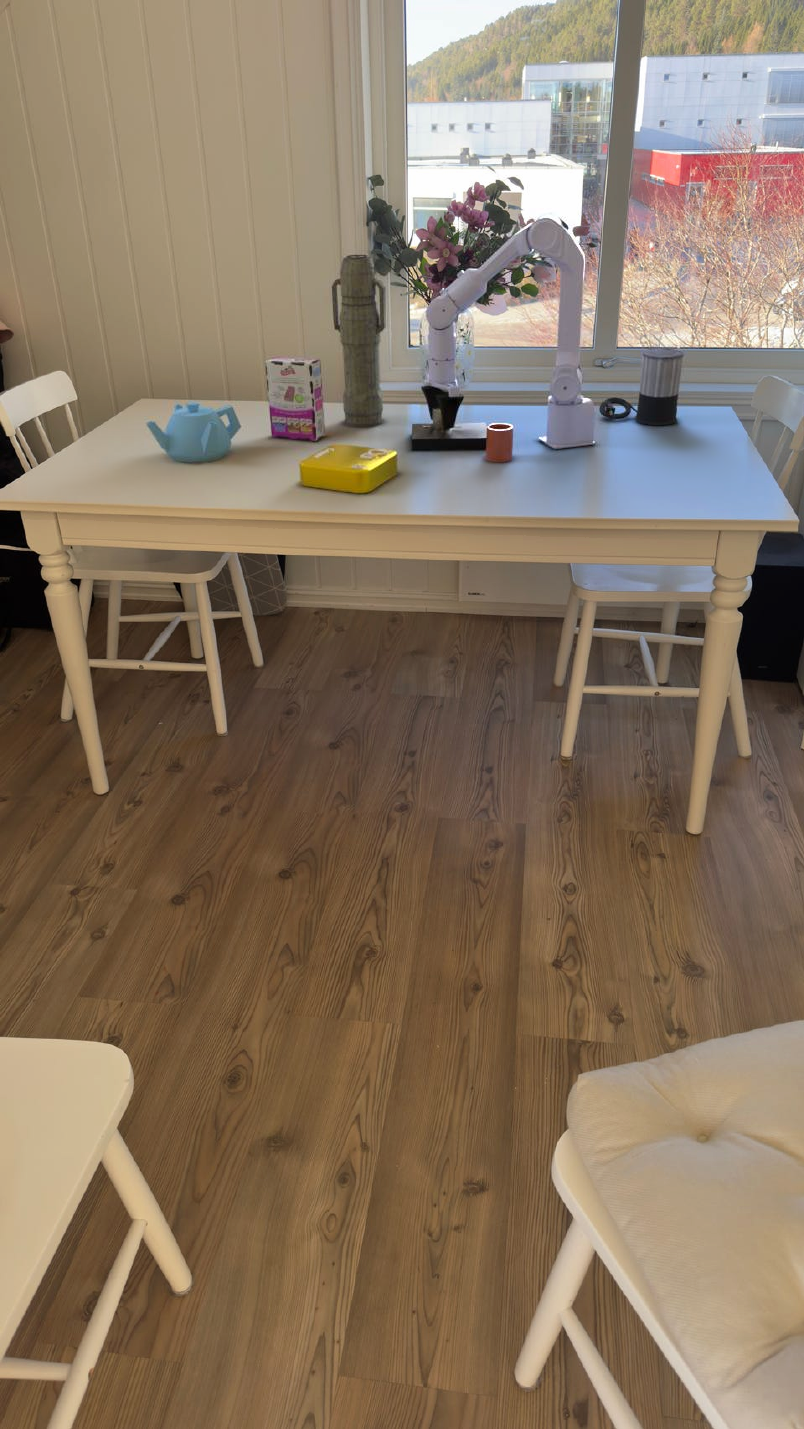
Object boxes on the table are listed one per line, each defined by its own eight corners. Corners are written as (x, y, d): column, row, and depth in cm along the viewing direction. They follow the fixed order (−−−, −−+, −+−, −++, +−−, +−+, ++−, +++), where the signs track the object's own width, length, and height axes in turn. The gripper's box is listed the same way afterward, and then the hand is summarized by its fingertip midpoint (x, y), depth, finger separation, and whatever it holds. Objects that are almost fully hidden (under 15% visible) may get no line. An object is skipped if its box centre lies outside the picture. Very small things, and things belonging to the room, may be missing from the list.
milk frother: (684, 424, 228) (692, 355, 220) (618, 430, 225) (624, 360, 217) (656, 409, 240) (663, 342, 232) (593, 414, 237) (598, 347, 229)
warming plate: (485, 432, 225) (485, 420, 224) (488, 449, 214) (488, 437, 212) (412, 433, 226) (412, 421, 224) (411, 451, 214) (411, 438, 213)
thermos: (385, 427, 230) (380, 258, 212) (334, 426, 232) (325, 258, 214) (393, 417, 238) (388, 253, 220) (343, 416, 239) (335, 253, 222)
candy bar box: (326, 436, 225) (321, 358, 217) (316, 442, 221) (311, 363, 213) (281, 431, 229) (275, 355, 221) (270, 437, 225) (263, 360, 217)
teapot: (218, 467, 207) (212, 414, 201) (149, 464, 210) (142, 410, 205) (245, 446, 220) (240, 395, 214) (180, 443, 223) (174, 392, 217)
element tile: (334, 464, 207) (333, 440, 205) (401, 472, 202) (400, 448, 199) (296, 485, 196) (294, 461, 193) (366, 495, 190) (365, 470, 188)
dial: (432, 424, 222) (432, 404, 220) (451, 424, 222) (451, 404, 220) (432, 429, 219) (432, 409, 217) (451, 429, 219) (451, 408, 217)
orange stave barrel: (505, 453, 211) (506, 422, 208) (516, 460, 207) (517, 428, 204) (481, 456, 210) (482, 424, 206) (492, 463, 205) (492, 431, 202)
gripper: (412, 353, 218) (413, 417, 225) (436, 367, 206) (436, 434, 213) (443, 350, 220) (443, 414, 227) (468, 363, 208) (468, 430, 215)
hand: (442, 423), depth 220 cm, fingers open, 7 cm apart
